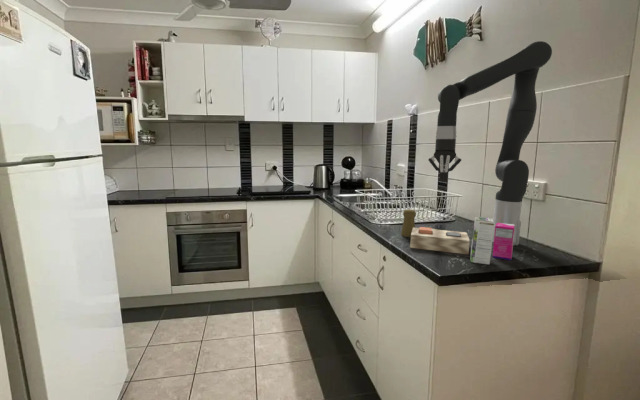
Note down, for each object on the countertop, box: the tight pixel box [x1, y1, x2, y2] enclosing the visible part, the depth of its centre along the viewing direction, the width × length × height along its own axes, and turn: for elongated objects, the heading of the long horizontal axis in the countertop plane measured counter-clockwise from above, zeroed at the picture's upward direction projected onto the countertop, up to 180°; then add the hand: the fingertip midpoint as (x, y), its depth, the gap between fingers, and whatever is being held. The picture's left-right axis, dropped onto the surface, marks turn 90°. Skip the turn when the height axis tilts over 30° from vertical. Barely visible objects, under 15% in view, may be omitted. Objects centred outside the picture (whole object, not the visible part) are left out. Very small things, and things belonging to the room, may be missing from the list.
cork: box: [400, 208, 417, 238], centre depth 140 cm, size 6×6×11 cm
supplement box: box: [492, 223, 515, 261], centre depth 114 cm, size 6×6×12 cm
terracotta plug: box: [419, 226, 433, 234], centre depth 126 cm, size 4×4×5 cm
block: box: [409, 226, 471, 255], centre depth 125 cm, size 20×12×5 cm, turn 71°
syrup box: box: [469, 216, 495, 265], centre depth 109 cm, size 6×6×14 cm
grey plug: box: [447, 232, 460, 237], centre depth 123 cm, size 4×4×5 cm
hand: (443, 181), depth 134 cm, fingers closed
